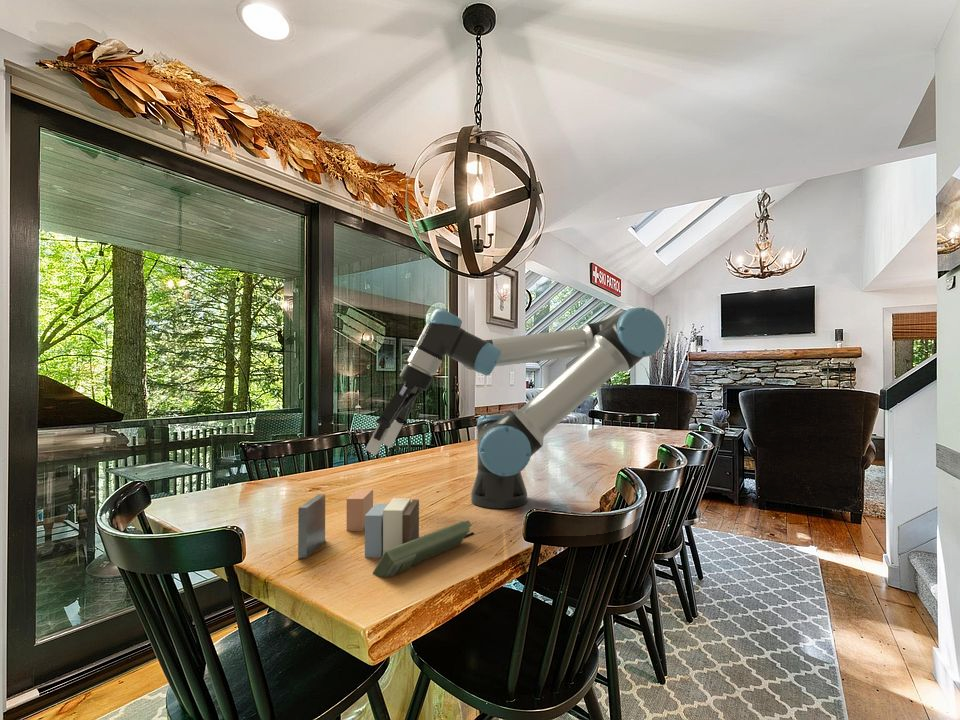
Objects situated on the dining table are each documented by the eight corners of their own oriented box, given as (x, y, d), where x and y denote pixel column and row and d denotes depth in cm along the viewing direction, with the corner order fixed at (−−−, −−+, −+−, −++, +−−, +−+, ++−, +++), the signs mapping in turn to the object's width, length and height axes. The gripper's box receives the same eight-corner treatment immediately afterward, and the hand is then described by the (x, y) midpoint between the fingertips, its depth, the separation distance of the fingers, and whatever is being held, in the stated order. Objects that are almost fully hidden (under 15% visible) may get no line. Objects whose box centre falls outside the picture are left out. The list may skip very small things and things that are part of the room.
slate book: (390, 542, 88) (390, 503, 88) (381, 557, 81) (381, 515, 81) (375, 542, 88) (375, 503, 88) (364, 557, 81) (364, 515, 81)
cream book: (410, 541, 88) (410, 498, 88) (402, 558, 80) (402, 510, 80) (393, 541, 88) (393, 498, 89) (383, 558, 80) (383, 510, 81)
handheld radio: (367, 573, 75) (465, 532, 94) (377, 590, 73) (475, 545, 92) (383, 547, 72) (480, 510, 92) (394, 563, 71) (490, 523, 90)
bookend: (325, 539, 89) (325, 494, 89) (306, 558, 80) (306, 507, 80) (317, 539, 89) (317, 494, 90) (298, 558, 80) (298, 507, 81)
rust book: (373, 524, 102) (373, 489, 103) (362, 537, 94) (363, 498, 95) (357, 524, 103) (357, 489, 103) (346, 537, 95) (346, 498, 95)
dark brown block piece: (419, 545, 89) (418, 499, 89) (409, 567, 79) (409, 515, 79) (314, 545, 90) (315, 499, 90) (292, 566, 80) (293, 514, 80)
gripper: (416, 365, 121) (379, 436, 120) (394, 358, 96) (347, 447, 95) (440, 378, 120) (403, 449, 119) (425, 374, 95) (378, 464, 94)
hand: (378, 448), depth 107 cm, fingers open, 13 cm apart
